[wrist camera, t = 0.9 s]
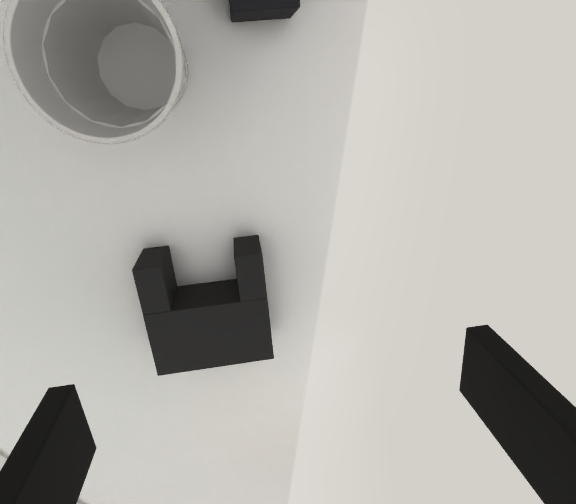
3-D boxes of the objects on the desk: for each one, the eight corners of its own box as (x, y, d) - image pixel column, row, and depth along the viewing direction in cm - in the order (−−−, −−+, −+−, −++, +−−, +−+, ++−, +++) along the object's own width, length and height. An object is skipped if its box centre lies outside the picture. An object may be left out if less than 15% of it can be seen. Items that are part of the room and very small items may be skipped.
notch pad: (143, 248, 36) (131, 269, 31) (258, 234, 36) (262, 253, 32) (165, 345, 39) (157, 375, 35) (269, 330, 40) (273, 358, 36)
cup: (114, -19, 28) (40, -87, 17) (217, 49, 31) (211, 27, 20) (69, 88, 30) (-22, 87, 19) (170, 144, 33) (140, 172, 22)
